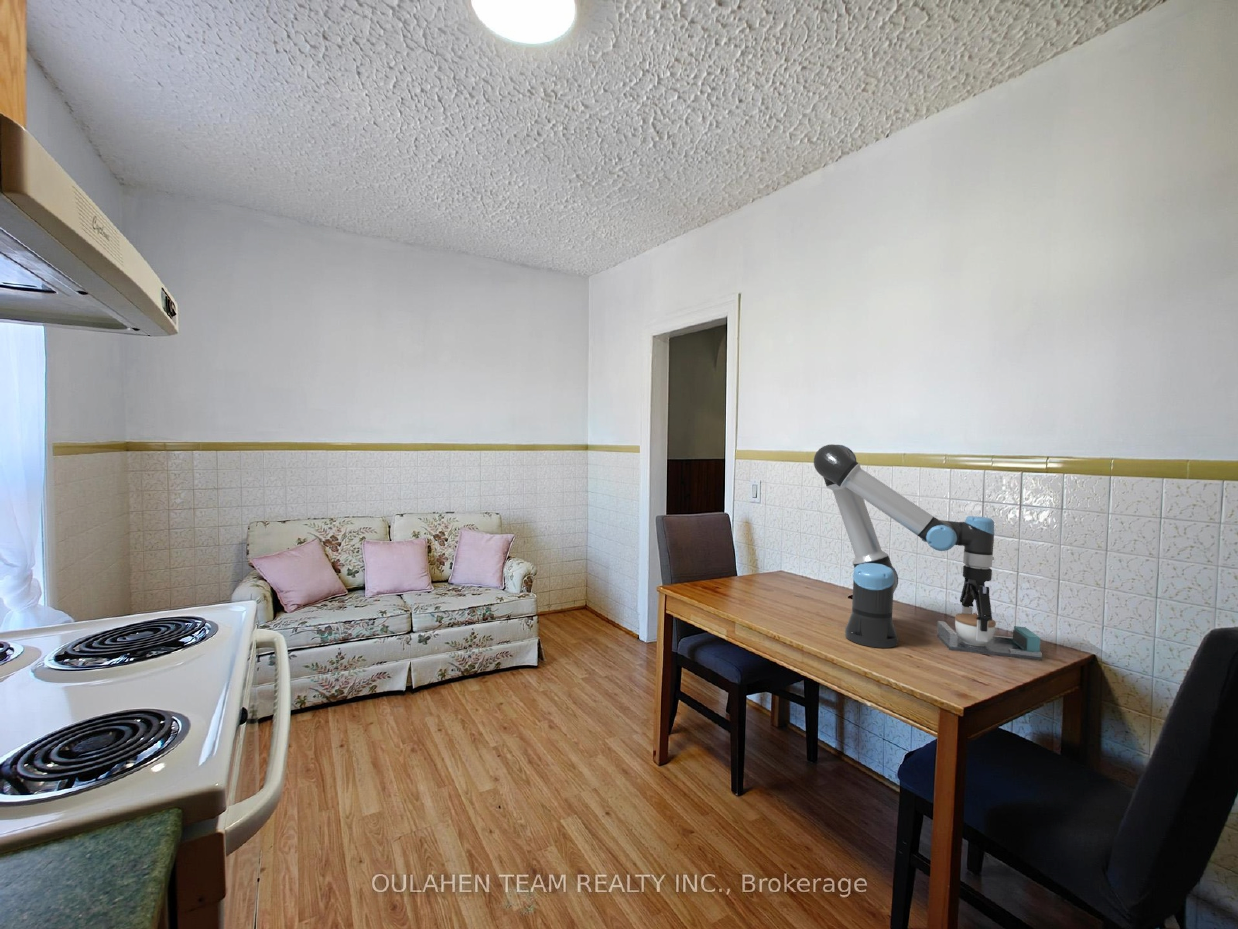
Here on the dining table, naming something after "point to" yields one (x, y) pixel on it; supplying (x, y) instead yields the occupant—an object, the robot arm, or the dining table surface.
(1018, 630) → the block
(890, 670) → the dining table surface
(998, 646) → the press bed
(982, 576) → the robot arm
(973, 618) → the lidded jar
